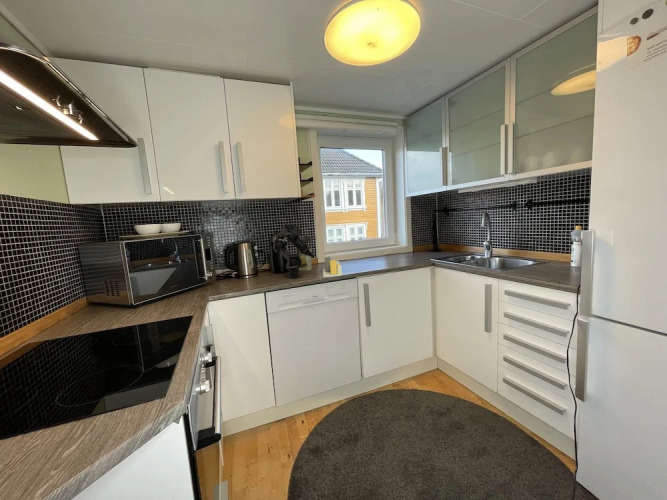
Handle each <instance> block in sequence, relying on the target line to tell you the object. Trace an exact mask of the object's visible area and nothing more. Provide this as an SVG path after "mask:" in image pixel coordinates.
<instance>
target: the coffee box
mask: <svg viewBox="0 0 667 500" xmlns="http://www.w3.org/2000/svg"><path fill="white" fill-rule="evenodd" d="M309 250H310V251H311V250H312V249H311V248H310V247H309ZM311 252H312V251H311ZM296 254H297V255H298V256H299V257H300V259H301V261H302V262H301V268H299V271H310V270H312V269H313V268H312V267H313V266H312V257H310V256H307V255H304V254H301V253H300V252H299V250H298V249H297V248H296Z"/></svg>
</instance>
